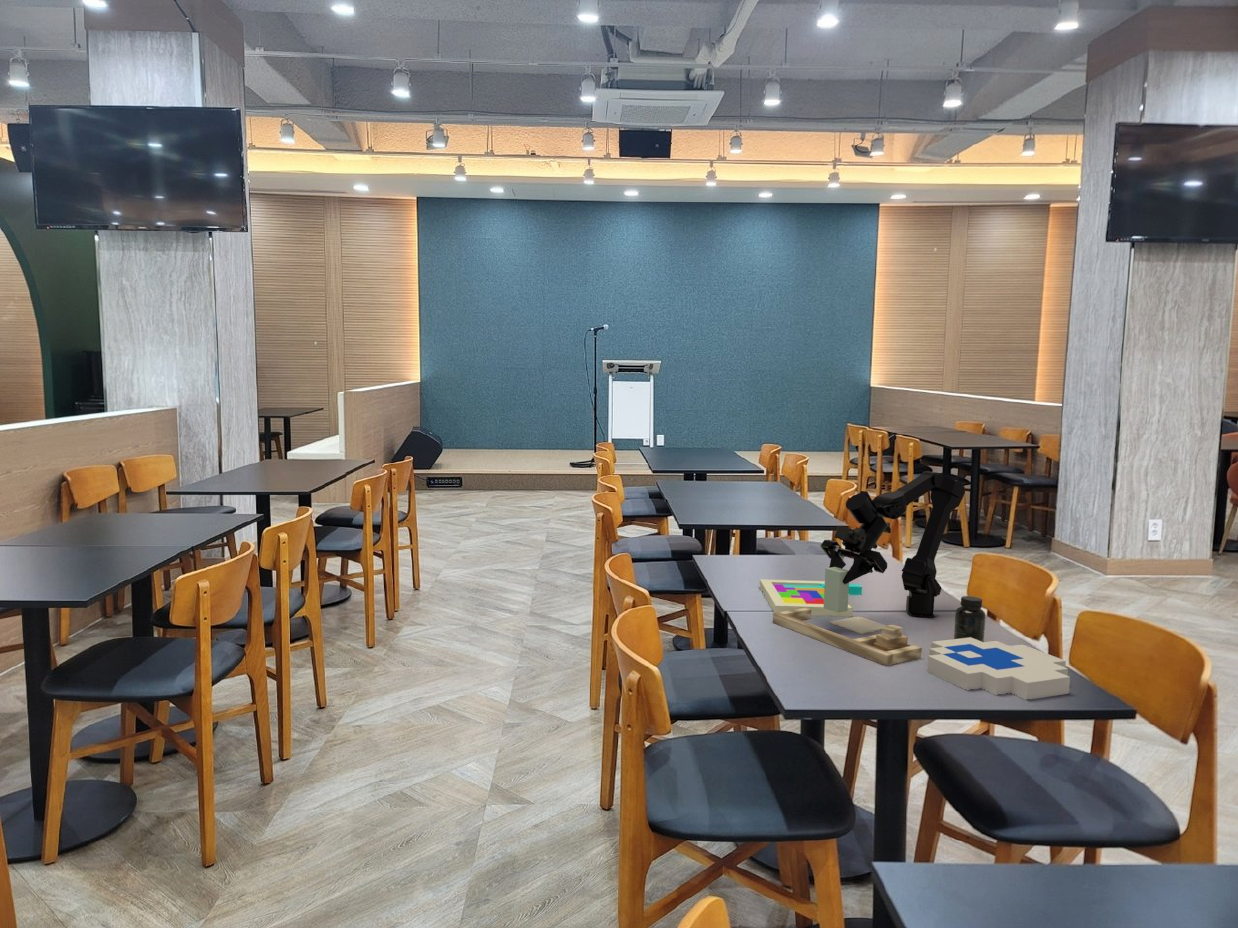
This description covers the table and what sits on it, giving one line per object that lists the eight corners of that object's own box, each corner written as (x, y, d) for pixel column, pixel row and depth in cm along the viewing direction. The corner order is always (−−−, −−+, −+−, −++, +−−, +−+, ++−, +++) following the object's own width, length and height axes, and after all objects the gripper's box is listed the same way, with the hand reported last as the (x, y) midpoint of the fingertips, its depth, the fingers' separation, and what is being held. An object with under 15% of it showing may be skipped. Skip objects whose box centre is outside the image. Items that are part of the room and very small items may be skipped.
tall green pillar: (833, 606, 221) (835, 566, 220) (847, 610, 217) (849, 570, 215) (823, 607, 219) (825, 568, 218) (837, 612, 215) (839, 572, 214)
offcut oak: (896, 640, 205) (896, 632, 205) (907, 645, 201) (907, 637, 201) (876, 642, 203) (876, 634, 203) (887, 647, 199) (887, 639, 199)
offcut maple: (890, 632, 205) (890, 624, 204) (901, 635, 203) (902, 627, 202) (881, 636, 201) (881, 627, 201) (893, 638, 199) (893, 630, 199)
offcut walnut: (893, 648, 206) (893, 639, 206) (909, 655, 202) (910, 644, 202) (872, 653, 203) (873, 643, 202) (889, 659, 198) (889, 649, 198)
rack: (805, 616, 231) (806, 607, 230) (920, 657, 199) (921, 647, 198) (772, 622, 224) (773, 613, 224) (886, 665, 192) (886, 655, 192)
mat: (858, 617, 231) (858, 616, 231) (890, 628, 222) (890, 626, 222) (829, 622, 225) (829, 621, 225) (861, 634, 216) (861, 632, 216)
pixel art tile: (997, 687, 171) (903, 644, 197) (995, 706, 171) (902, 661, 197) (1097, 672, 181) (996, 634, 207) (1096, 690, 181) (995, 650, 207)
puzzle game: (775, 616, 232) (884, 619, 232) (775, 605, 232) (885, 608, 231) (759, 588, 262) (856, 591, 262) (759, 579, 262) (856, 582, 261)
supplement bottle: (973, 641, 213) (976, 594, 212) (989, 649, 206) (992, 601, 205) (948, 641, 212) (951, 594, 210) (963, 650, 205) (966, 602, 204)
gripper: (827, 509, 226) (794, 554, 221) (882, 520, 210) (848, 569, 205) (846, 535, 231) (815, 580, 226) (901, 548, 215) (869, 596, 210)
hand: (835, 580), depth 217 cm, fingers closed on tall green pillar, 5 cm apart
